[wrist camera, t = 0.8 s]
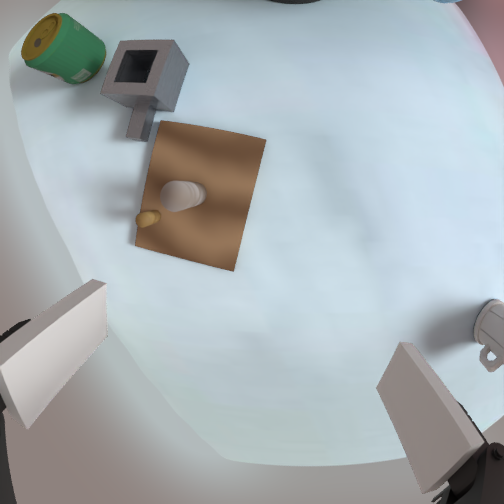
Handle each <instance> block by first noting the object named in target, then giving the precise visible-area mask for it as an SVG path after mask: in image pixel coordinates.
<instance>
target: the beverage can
mask: <svg viewBox="0 0 504 504" xmlns="http://www.w3.org/2000/svg"><path fill="white" fill-rule="evenodd" d="M21 55H22V58H23V59H24V61H25V63H26V65H27V66H29V67H31V68H34V69H36V70H39V71H41V72H44V73H46V74H49V75H51V76H53V77H56V78H58V79H60V80H63V81H65V82H67V83H70V84H78V83H83V82H85V81H87V80H89V79H91V78H92V77H93V76H94V75H95V74H96V73H97V72H98V71H99V70H100V68H101V67H102V65H103V63H104V61H105V57H106V50H105V45H104V43H103V41H102V40H100V39H99V38H98V37H97V36H95V35H94V34H93V33H91V32H90V31H89V30H87V29H86V28H85V27H84V26H82V25H81V24H80V23H78V22H77V21H76V20H74V19H73V18H72V17H70V16H69V15H67V14H65V13H60V14H57V13H52V14H49V15H47V16H46V17H44V18H43V19H41V20H40V21H39V22H38V23H37V24H36V25H35V26H34V27H33V28H32V30H31V31H30V32H29V34H28V35H27V37H26V39H25V41H24V43H23V46H22V50H21Z"/></svg>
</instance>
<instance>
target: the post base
mask: <svg viewBox="0 0 504 504" xmlns="http://www.w3.org/2000/svg"><path fill="white" fill-rule="evenodd" d="M265 144H266V140H265V139H261V138H257V137H253V136H248V135H244V134H239V133H234V132H229V131H224V130H219V129H214V128H208V127H203V126H197V125H191V124H184V123H177V122H170V121H162V120H161V121H160V125H159V129H158V132H157V136H156V140H155V144H154V148H153V152H152V156H151V161H150V165H149V170H148V174H147V179H146V184H145V189H144V194H143V199H142V205H141V210H140V214H138V215H137V216H136V224H137V225H138V229H137V235H136V242H135V246H137V247H141V248H145V249H148V250H152V251H156V252H160V253H163V254H167V255H171V256H175V257H178V258H182V259H186V260H190V261H194V262H198V263H201V264H205V265H209V266H213V267H217V268H221V269H225V270H229V271H233V272H234V268H235V264H236V260H237V256H238V252H239V248H240V244H241V239H242V235H243V231H244V227H245V223H246V219H247V215H248V211H249V207H250V203H251V199H252V195H253V191H254V187H255V183H256V179H257V175H258V171H259V167H260V163H261V159H262V155H263V151H264V147H265Z"/></svg>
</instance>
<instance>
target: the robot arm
mask: <svg viewBox="0 0 504 504" xmlns="http://www.w3.org/2000/svg"><path fill="white" fill-rule="evenodd" d="M271 1H275V2H281V3H290V4H303V3H311V2H316V1H320V0H271ZM434 1H436V2H439V3H454V2H458V1H461V0H434ZM107 334H108V333H107V283H104V282H101V281H97V280H94V279H92V280H90V281H89V282H87V283H86V284H84V285H82V286H81V287H79V288H78V289H76V290H75V291H73V292H72V293H70V294H69V295H67V296H66V297H64V298H63V299H61V300H60V301H58V302H57V303H56V304H54V305H52V306H51V307H50V308H48V309H47V310H45V311H44V312H42V313H41V314H39V315H38V316H37V317H35V318H34V319H32V320H31V319H28V320H25V321H22V322H19V323H17V324H16V325H14V326H13V327H11V328H10V329H9V331H8V330H7V331H6V332H4V333H3V335H2V336H0V504H17V503H16V499H15V495H14V491H13V486H12V481H11V475H10V469H9V463H8V456H7V448H6V437H5V421H4V416H3V413H2V412H3V410H4V409H5V408H7V410H8V412H9V414H10V416H11V417H12V419H13V420H15V421H16V422H17V423H19V424H20V425H21V426H23V427H24V428H25V429H27V430H28V429H29V427H30V426H31V425H32V423H33V422H34V421H35V420H36V418H37V417H38V416H39V415H40V414H41V412H42V411H43V410H44V409H45V407H46V406H47V405H48V404H49V403H50V401H51V400H52V399H53V398H54V397H55V395H56V394H57V393H58V392H59V391H60V390H61V388H62V387H63V386H64V385H65V384H66V383H67V381H68V380H69V379H70V378H71V377H72V376H73V374H74V373H75V372H76V371H77V370H78V369H79V368H80V366H81V365H82V364H83V363H84V362H85V361H86V360H87V359H88V358H89V356H90V355H91V354H92V353H93V352H94V351H95V350H96V349H97V348H98V346H99V345H100V344H101V343H102V342H103V341H104V340H105V339H106V338H107V337H108V335H107ZM376 389H377V391H378V393H379V395H380V397H381V399H382V401H383V403H384V406H385V408H386V410H387V412H388V414H389V416H390V419H391V421H392V423H393V425H394V428H395V430H396V432H397V434H398V437H399V439H400V441H401V443H402V446H403V448H404V450H405V453H406V455H407V457H408V460H409V462H410V465H411V467H412V470H413V472H414V474H415V477H416V479H417V482H418V484H419V487H420V489H421V492H422V494H424V493H427V492H430V491H434V490H437V489H438V488H439V487H440V486H441V485H443V484H444V483H445V482H446V481H447V480H448V482H449V486H448V487H447V488H445V489H444V490H443V491H442V492H440V493H439V494H438V495H437V496H436V497H434V498H433V500H432V502H435V501H436V500H437V499H439V498H440V497H442V498H441V500H439V501H438V502H437V504H504V446H503V445H501V444H500V443H495V442H494V443H491V444H490V445H489V444H488V443H487V441H486V439H485V438H484V436H483V435H482V433H481V432H480V430H479V429H478V427H477V426H476V424H475V423H474V421H472V419H471V417H470V416H469V415H467V414H468V413H467V411H466V410H465V409H464V407H463V406H462V405H461V404H460V403H459V402H458V401H456V400H455V398H454V397H453V395H452V394H451V393H450V391H449V390H448V389H447V387H446V386H445V385H444V383H443V382H442V381H441V379H440V378H439V377H438V375H437V374H436V373H435V372H434V370H433V369H432V368H431V366H430V365H429V364H428V362H427V361H426V360H425V359H424V357H423V356H422V355H421V354H420V352H419V351H418V350H417V349H416V347H415V346H414V345H413V344H412V343H405V342H399V344H398V346H397V348H396V351H395V353H394V355H393V357H392V359H391V361H390V363H389V365H388V367H387V369H386V370H385V372H384V374H383V376H382V378H381V380H380V382H379V384H378V385H377V387H376Z"/></svg>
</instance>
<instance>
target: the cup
mask: <svg viewBox="0 0 504 504" xmlns="http://www.w3.org/2000/svg"><path fill="white" fill-rule="evenodd" d="M474 338H475V340H476V341H477V342H478V343H479V344H481V345H485V347H484V348H483V349H482V350H481V351H480V362H481V363H482V364H483V365H484V367H485V368H486V369H487V370H488V372H494V371H495V370H496V369H497V368H499V367H500V366H501V365H502V364H504V303H503V302H502V301H500V300H499V299H494V300H492V301H490V302H489V303H488V304H487V305H486V306H484V308H483V309H482V310H481V312H480V314H479V315H478V317H477V320H476V323H475V327H474ZM490 351H491V352H492V353H494V354H495V356H496V357H497V358H496V359H495V360H493V361H489V360H488V359H487V354H488V353H489V352H490Z"/></svg>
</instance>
